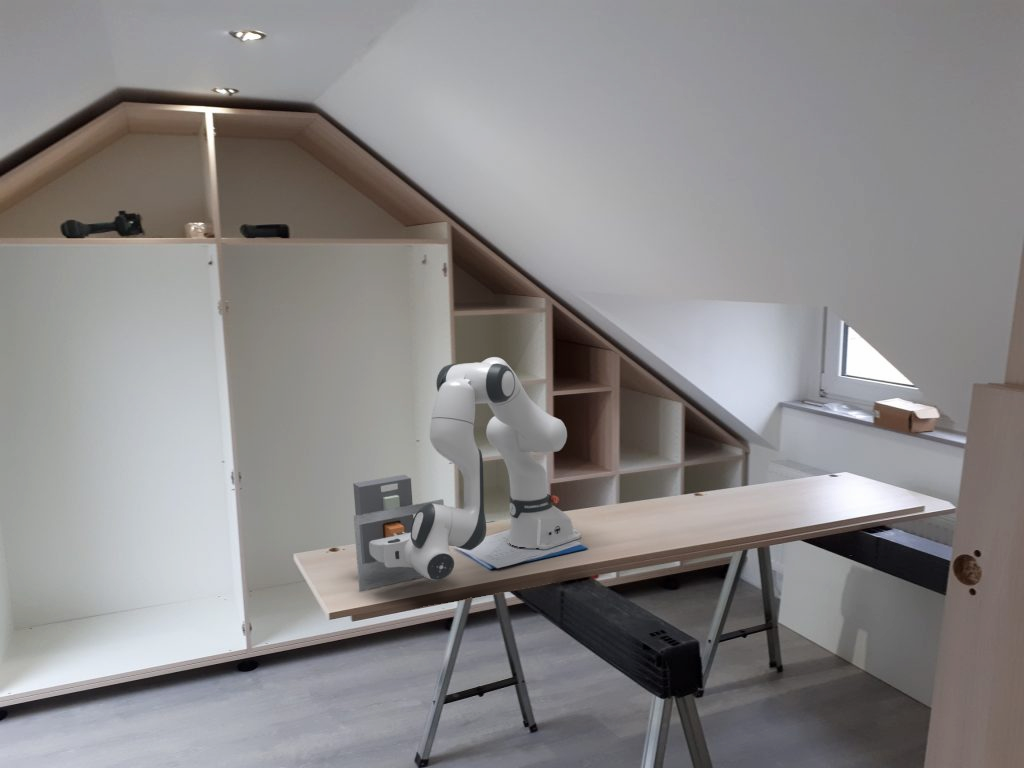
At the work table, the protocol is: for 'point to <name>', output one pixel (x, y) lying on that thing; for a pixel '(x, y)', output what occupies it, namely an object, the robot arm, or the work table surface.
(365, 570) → the frame
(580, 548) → the work table surface
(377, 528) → the panel
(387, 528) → the plunger
